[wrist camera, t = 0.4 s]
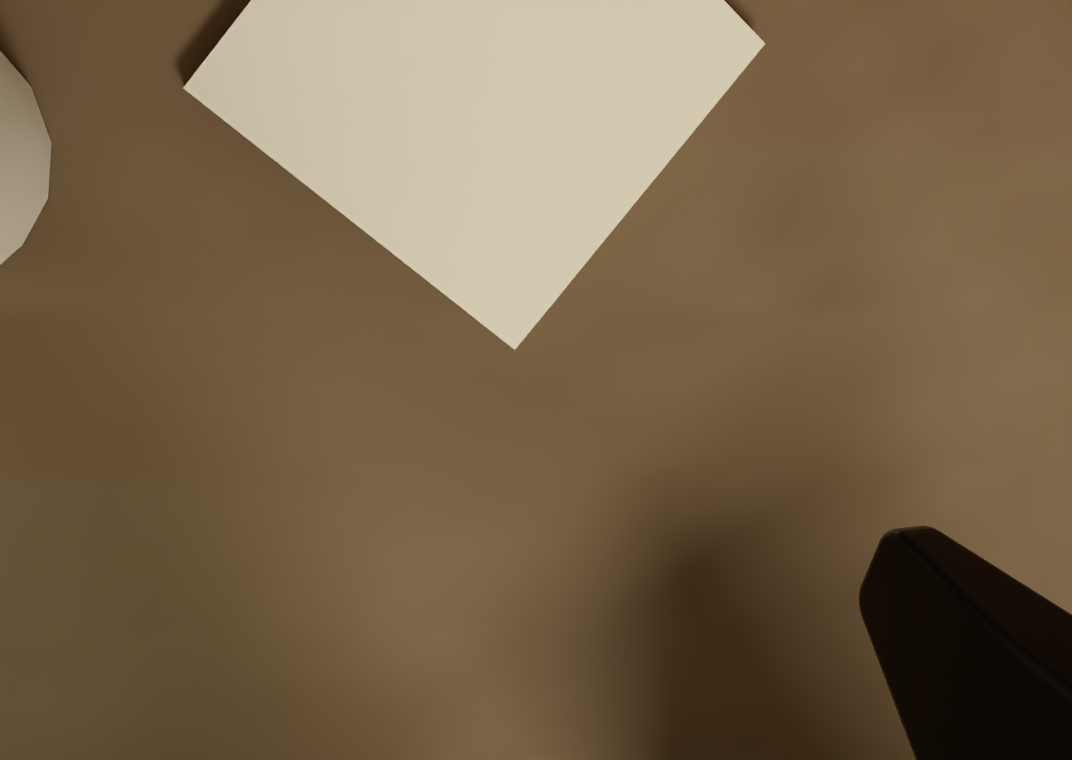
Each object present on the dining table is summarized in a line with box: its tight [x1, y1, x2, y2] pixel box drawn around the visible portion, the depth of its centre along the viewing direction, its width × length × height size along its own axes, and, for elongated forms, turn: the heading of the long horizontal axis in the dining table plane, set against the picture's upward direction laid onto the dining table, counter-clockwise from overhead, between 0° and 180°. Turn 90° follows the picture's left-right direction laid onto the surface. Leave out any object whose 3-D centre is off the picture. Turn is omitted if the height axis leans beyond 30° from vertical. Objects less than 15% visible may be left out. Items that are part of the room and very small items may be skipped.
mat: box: [183, 0, 765, 350], centre depth 22 cm, size 9×9×1 cm
